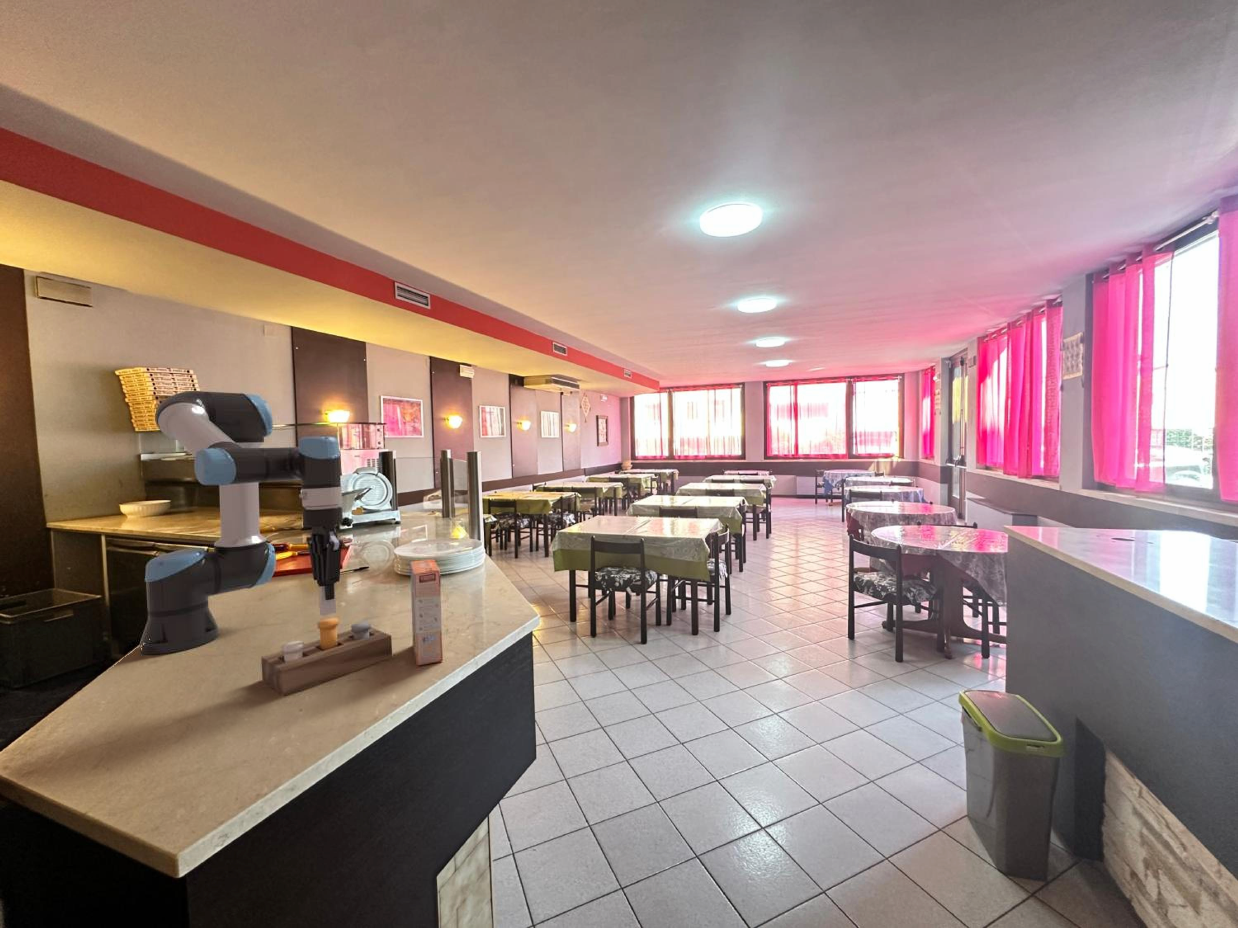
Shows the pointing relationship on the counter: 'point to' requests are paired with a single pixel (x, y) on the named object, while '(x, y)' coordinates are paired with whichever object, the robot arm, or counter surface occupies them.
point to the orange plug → (328, 633)
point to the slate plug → (361, 630)
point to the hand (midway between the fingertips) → (328, 613)
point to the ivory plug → (292, 650)
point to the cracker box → (426, 611)
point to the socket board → (325, 661)
